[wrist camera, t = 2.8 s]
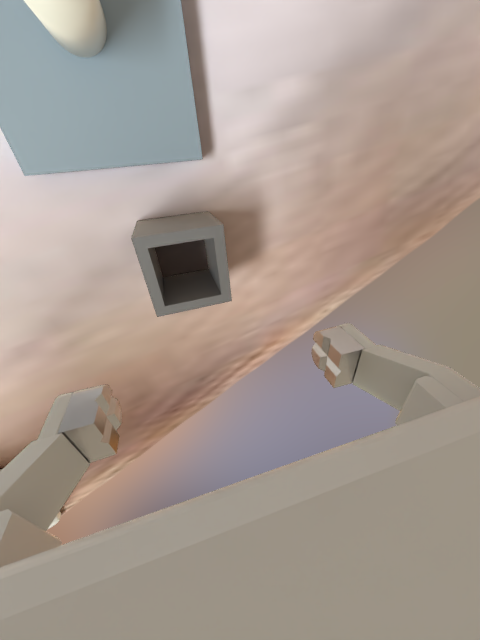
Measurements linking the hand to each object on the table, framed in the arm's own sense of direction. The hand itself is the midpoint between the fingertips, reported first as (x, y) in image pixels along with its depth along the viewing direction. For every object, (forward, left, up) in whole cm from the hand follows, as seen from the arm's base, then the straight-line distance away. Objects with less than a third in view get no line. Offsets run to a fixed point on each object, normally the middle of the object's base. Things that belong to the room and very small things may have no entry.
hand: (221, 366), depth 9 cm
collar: (0, 0, -17) cm, 17 cm away
